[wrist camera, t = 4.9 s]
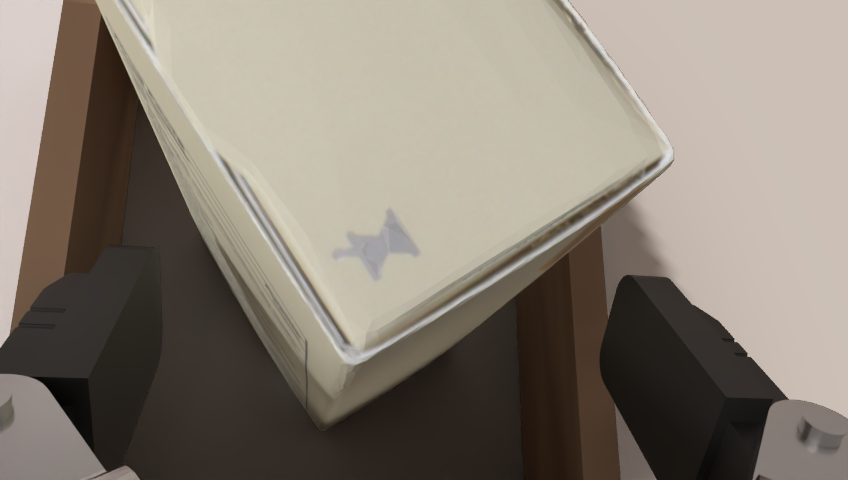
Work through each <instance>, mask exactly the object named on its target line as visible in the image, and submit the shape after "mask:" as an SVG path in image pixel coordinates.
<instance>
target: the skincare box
mask: <svg viewBox="0 0 848 480" xmlns="http://www.w3.org/2000/svg"><path fill="white" fill-rule="evenodd" d="M95 1H96V3H97V5H98V7H99V10H100V12H101V14H102V16H103V18H104V21H105V23H106V25H107V27H108V30H109V32H110V34H111V36H112V39H113V41H114V43H115V45H116V47H117V50H118V52H119V54H120V56H121V59H122V61H123V63H124V65H125V68H126V70H127V72H128V74H129V76H130V79H131V81H132V83H133V85H134V88H135V90H136V92H137V94H138V97H139V99H140V101H141V103H142V105H143V108H144V110H145V112H146V114H147V117H148V119H149V121H150V123H151V126H152V128H153V130H154V132H155V135H156V137H157V139H158V141H159V143H160V146H161V148H162V150H163V152H164V155H165V157H166V159H167V161H168V164H169V166H170V168H171V170H172V173H173V175H174V177H175V179H176V182H177V184H178V186H179V188H180V191H181V193H182V195H183V197H184V200H185V202H186V204H187V206H188V209H189V211H190V213H191V215H192V218H193V220H194V222H195V224H196V227H197V229H198V231H199V234H200V236H201V238H202V240H203V242H204V244H205V246H206V248H207V249H208V251H209V253H210V255H211V257H212V258H213V260H214V262H215V264H216V265H217V267H218V269H219V271H220V273H221V274H222V276H223V278H224V280H225V281H226V283H227V285H228V287H229V288H230V290H231V292H232V293H233V295H234V297H235V298H236V300H237V302H238V303H239V305H240V307H241V308H242V310H243V312H244V314H245V315H246V317H247V319H248V320H249V322H250V324H251V325H252V327H253V328H254V330H255V332H256V333H257V335H258V337H259V338H260V340H261V341H262V343H263V345H264V346H265V348H266V350H267V351H268V353H269V354H270V356H271V357H272V359H273V361H274V362H275V364H276V365H277V367H278V369H279V370H280V372H281V373H282V375H283V376H284V378H285V380H286V381H287V383H288V384H289V386H290V388H291V389H292V391H293V392H294V394H295V395H296V397H297V398H298V400H299V401H300V403H301V404H302V406H303V407H304V409H305V410H306V412H307V413H308V415H309V416H310V418H311V419H312V421H313V422H314V424H315V425H316V426H317V428H318V429H319V430H320V431H324V430H327V429H328V428H330V427H332V426H333V425H335V424H337V423H338V422H340V421H342V420H343V419H345V418H347V417H348V416H350V415H352V414H353V413H355V412H357V411H358V410H360V409H361V408H363V407H365V406H366V405H368V404H370V403H371V402H373V401H374V400H376V399H378V398H379V397H381V396H382V395H384V394H385V393H387V392H388V391H390V390H392V389H393V388H395V387H396V386H398V385H399V384H401V383H402V382H404V381H405V380H407V379H408V378H410V377H411V376H413V375H414V374H416V373H417V372H419V371H420V370H422V369H423V368H425V367H426V366H428V365H429V364H431V363H432V362H433V361H435V360H436V359H437V358H439V357H440V356H441V355H443V354H444V353H445V352H447V351H448V350H450V349H451V348H452V347H454V346H455V345H456V344H457V343H458V342H460V341H461V340H462V339H463V338H464V337H466V336H467V335H468V334H469V333H471V332H472V331H473V330H474V329H476V328H477V327H478V326H479V325H481V324H482V323H483V322H484V321H485V320H486V319H488V318H489V317H490V316H491V315H492V314H494V313H495V312H496V311H497V310H499V309H500V308H501V307H502V306H504V305H505V304H506V303H507V302H508V301H510V300H511V299H512V298H513V297H515V296H516V295H517V294H518V293H520V292H521V291H522V290H523V289H525V288H526V287H527V286H528V285H530V284H531V283H532V282H533V281H535V280H536V279H537V278H538V277H539V276H541V275H542V274H543V273H544V272H545V271H547V270H548V269H549V268H550V267H551V266H552V265H554V264H555V263H556V262H557V261H558V260H560V259H561V258H562V257H563V256H564V255H566V254H567V253H568V252H569V251H571V250H572V249H573V248H574V247H576V246H577V245H578V244H579V243H580V242H582V241H583V240H584V239H585V238H586V237H588V236H589V235H590V234H591V233H592V232H593V231H595V230H596V229H597V228H598V227H599V226H600V225H602V224H603V223H604V222H605V221H607V220H608V219H609V218H610V217H611V216H613V215H614V214H615V213H616V212H617V211H619V210H620V209H621V208H622V207H623V206H624V205H626V204H627V203H628V202H629V201H630V200H631V199H632V198H634V197H635V196H636V195H637V194H638V193H640V192H641V191H642V190H643V189H644V188H645V187H647V186H648V185H649V184H650V183H652V182H653V181H654V180H655V179H656V178H657V177H659V176H660V175H661V174H662V173H663V172H664V171H665V170H666V169H667V168H668V167H669V166H670V165H671V164H672V162H673V161H674V149H673V147H672V146H671V144H670V142H669V140H668V138H667V136H666V135H665V134H664V132H663V131H662V130H661V129H660V127H659V126H658V125H657V123H656V122H655V120H654V119H653V117H652V116H651V114H650V112H649V111H648V109H647V107H646V106H645V104H644V102H643V101H642V100H641V99H640V97H639V96H638V95H637V94H636V92H635V91H634V89H633V88H632V87H631V85H630V84H629V83H628V81H627V80H626V78H625V77H624V75H623V74H622V73H621V71H620V69H619V68H618V66H617V65H616V63H615V62H614V61H613V60H612V58H611V57H610V56H609V55H608V53H607V52H606V50H605V49H604V47H603V46H602V45H601V43H600V42H599V40H598V39H597V38H596V36H595V35H594V34H593V32H592V31H591V30H590V29H589V28H588V26H587V24H586V22H585V20H584V19H583V18H582V17H581V16H580V14H579V13H578V12H577V11H576V10H575V9H574V7H573V6H572V4H571V3H570V2H569V0H95Z"/></svg>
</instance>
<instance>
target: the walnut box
mask: <svg viewBox="0 0 848 480" xmlns="http://www.w3.org/2000/svg"><path fill="white" fill-rule="evenodd" d="M138 99H139V97H138V94H137V92H136V90H135V88H134V85H133V83H132V81H131V79H130V76H129V74H128V72H127V70H126V68H125V65H124V63H123V61H122V59H121V56H120V54H119V52H118V50H117V47H116V45H115V43H114V41H113V39H112V36H111V34H110V32H109V30H108V27H107V25H106V23H105V21H104V18H103V16H102V14H101V12H100V10H99V7H98V5H97V3H96V1H95V0H63V6H62V13H61V19H60V25H59V31H58V38H57V44H56V50H55V56H54V62H53V69H52V75H51V81H50V87H49V93H48V100H47V106H46V112H45V118H44V125H43V131H42V137H41V143H40V149H39V156H38V162H37V168H36V174H35V180H34V187H33V193H32V199H31V205H30V212H29V218H28V224H27V230H26V236H25V243H24V249H23V255H22V261H21V267H20V274H19V280H18V286H17V292H16V299H15V305H14V311H13V317H12V323H11V330H10V334H11V333H12V331H13V330H14V329H15V327H18V325H19V324H18V323H19V322H20V320H21V319H22V318H23V316H24V315H25V314H26V312H27V311H30V307H31V305H32V304H33V303H34V301H35V300H36V298H37V297H38V296H39V294H40V293H41V292H42V290H43V289H44V288H45V287H47V286H48V285H50V284H52V283H53V282H55V281H57V280H58V279H60V278H62V277H63V276H65V275H67V274H68V273H88V274H89V273H90V271H91V269H92V268H93V266H94V265H95V263H96V262H97V260H98V258H99V257H100V255H101V254H102V252H103V251H104V249H105V248H106V246H107V245H121V240H122V232H123V224H124V215H125V207H126V199H127V190H128V182H129V174H130V166H131V157H132V149H133V141H134V132H135V124H136V116H137V108H138ZM516 305H517V329H518V352H519V376H520V399H521V423H522V446H523V469H524V480H621V479H620V467H619V454H618V442H617V429H616V416H615V404H614V401H613V399H612V397H611V395H610V393H609V392H608V390H607V388H606V386H605V384H604V382H603V380H602V377H601V373H600V364H599V357H600V349H601V345H602V341H603V337H604V334H605V330H606V326H607V323H608V315H607V303H606V290H605V278H604V265H603V252H602V240H601V227H600V226H599V227H598V228H597V229H596V230H595V231H593V232H592V233H591V234H590V235H589V236H588V237H586V238H585V239H584V240H583V241H582V242H580V243H579V244H578V245H577V246H576V247H574V248H573V249H572V250H571V251H569V252H568V253H567V254H566V255H564V256H563V257H562V258H561V259H560V260H558V261H557V262H556V263H555V264H554V265H552V266H551V267H550V268H549V269H548V270H547V271H545V272H544V273H543V274H542V275H541V276H539V277H538V278H537V279H536V280H535V281H533V282H532V283H531V284H530V285H528V286H527V287H526V288H525V289H523V290H522V291H521V292H520V293H518V294H517V295H516Z"/></svg>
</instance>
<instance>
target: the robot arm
mask: <svg viewBox="0 0 848 480" xmlns="http://www.w3.org/2000/svg"><path fill="white" fill-rule="evenodd" d="M18 324H19V325H18V327H15V329H14V330H13V331H12V333H11V334H10V336H9V337H8V338H7V340H6V341H5V342H4V344H3V345H2V347H1V348H0V480H140V479H139V478H138V476H137V475H136V474H135V473H134V471H133V470H132V469H130V468H129V467H128V466H126V465H122V462H123V459H124V457H125V454H126V451H127V448H128V446H129V443H130V440H131V438H132V435H133V432H134V429H135V427H136V424H137V421H138V419H139V416H140V413H141V411H142V408H143V405H144V402H145V400H146V397H147V394H148V392H149V389H150V386H151V383H152V381H153V378H154V375H155V373H156V370H157V367H158V363H159V359H160V353H161V346H162V302H161V273H160V256H159V251H158V249H157V248H156V247H140V246H123V245H107V246H106V248H105V249H104V251H103V252H102V254H101V255H100V257H99V258H98V260H97V262H96V263H95V265H94V266H93V268H92V269H91V271H90V273H89V274H88V273H68V274H67V275H65V276H63V277H62V278H60V279H58V280H57V281H55V282H53V283H52V284H50V285H48V286H47V287H45V288H44V289H43V290H42V292H41V293H40V294H39V296H38V297H37V298H36V300H35V301H34V303H33V304H32V305H31V307H30V311H27V312H26V314H25V315H24V316H23V318H22V319H21V320H20V322H19V323H18ZM599 364H600V373H601V377H602V380H603V382H604V384H605V386H606V388H607V390H608V392H609V393H610V395H611V397H612V399H613V401H614V402H615V404H616V406H617V408H618V410H619V411H620V413H621V415H622V417H623V419H624V421H625V422H626V424H627V426H628V428H629V430H630V431H631V433H632V435H633V437H634V439H635V441H636V442H637V444H638V446H639V448H640V450H641V451H642V453H643V455H644V457H645V459H646V461H647V462H648V464H649V466H650V468H651V470H652V471H653V473H654V475H655V477H656V479H657V480H848V419H847V418H846V417H844V416H842V415H841V414H839V413H837V412H835V411H833V410H830V409H828V408H826V407H823V406H820V405H817V404H814V403H811V402H806V401H801V400H789V399H788V398H787V397H786V396H785V395H784V394H783V392H782V391H781V390H780V389H779V388H778V387H777V386H776V385H775V384H774V382H773V381H772V380H771V379H770V378H769V377H768V376H767V375H766V374H765V372H764V371H763V370H762V369H761V368H760V367H759V366H758V365H757V363H756V362H755V361H754V360H753V359H752V358H751V357H747V352H746V351H745V350H744V349H743V348H742V347H741V346H740V345H739V344H738V343H737V342H734V338H733V337H732V336H731V335H730V333H728V331H727V330H726V329H725V328H724V327H723V326H722V324H721V323H720V322H719V321H718V320H716V319H714V318H713V317H711V316H710V315H708V314H707V313H705V312H704V311H702V310H701V309H699V308H698V307H696V306H695V305H692V304H691V303H690V302H689V301H688V299H687V298H686V297H685V296H684V295H683V294H682V293H681V291H680V290H679V289H678V288H677V287H676V286H675V284H674V283H673V282H672V281H671V280H670V279H669V278H667V277H653V276H636V275H626V276H624V277H623V278H622V279H621V281H620V282H619V284H618V287H617V290H616V294H615V297H614V301H613V305H612V308H611V312H610V316H609V319H608V323H607V326H606V330H605V334H604V337H603V341H602V345H601V349H600V357H599Z"/></svg>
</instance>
